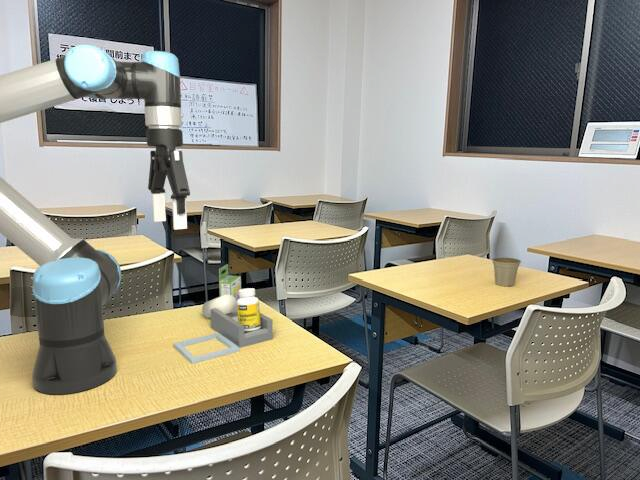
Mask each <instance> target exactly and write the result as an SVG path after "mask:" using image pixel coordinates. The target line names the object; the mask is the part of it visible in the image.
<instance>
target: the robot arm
mask: <svg viewBox="0 0 640 480" xmlns="http://www.w3.org/2000/svg"><path fill="white" fill-rule="evenodd" d="M180 73H181V72H180V63H179V58H178V57H177V56H176V55H175V54H173V53H172V52H167V51H163V50H162V51H160V50H153V51H152V50H151V51H144V52H143V53H141V59H140V61H132V62H131V61H117V60H115V59H114V58H113V57H111V55H109V54H108V53H107V52H106V51H104V50H103V49H102V48H99V47H97V46H93V45H91V44H78V45H76V46H74V47H72V48H71V49H70V50H69V51H68V52H67V53H66V55H63V56H60V57H57V58H54V59H51V60H48V61H44V62H41V63H37V64H33V65H31V66H27V67H23V68H22V69H21V68H20V69H17V70H14V71H11V72H8V73H4V74H1V75H0V124H2V123H5V122H8V121H11V120H14V119H17V118H21V117H25V116H28V115H30V114H33V113H37V112H41V111H43V110H46V109H50V108H53V107H56V106H59V105H62V104H66V103H68V102H69V103H70V102H72V101H76V100H79V99H82V98H86V97H87V98H88V99H98V100H104V101H105V100H143V101H144V119H145V121H144V122H145V126H146V127H148V129H147V128H146V130H145V132H146V133H145V134H146V145H147V146H148V147H152V148H153V147H155V150H150V153H149V154H150V161H149V162H150V163H149V172H148V173H149V175H148V183H147V186H148V187H147V189H148V191H150V193H151V205H152V217H153V222H154V223H155V222H158V223H159V222H166V221H167V218H166V217H167V215H166V200H165V197H166V196H165V194H166V189H165V184H166V180H167V179H168V181H167V182H168V183H169V187H170V190H171V192H172V194H171V195H170V200H171V204H172V205H171V206H172V209H171V210H172V224H173V226H172V227H173V230H175V231H176V230H185V229H186V230H187V229H188V221H187V220H188V219H187V218H188V215H187V200H186V199H187V197H189V196H190V195H191V190H190V187H189V182H188V178H187V174H186V173H187V172H186V169H185V168H186V167H185V165H184V158H183V157H184V156H183V151H182V150H176V147H178V148H179V147H183V145H184V141H183V140H184V139H183V137H184V136H183V130H182V129H180V127H182V126H183V122H182V118H183V117H184V114H183V112H182V99H181V98H182V96H181V95H182V93H181V92H182V91H181V75H180ZM166 178H167V179H166ZM0 234H1V235H2V236H3V237H5V239H7V240H9V242H10V243H12V244H13V245H15V246H16V247H17V248H18V249H19V250H20V251H22V253H24V254H25V255H26V256H27V257H29V258H30V259H31V260H33V261H34V263H36V264H37V265H38V268H37V269H36V270H35V271H34V273H33V277H32V288H31V290H32V294H33V299H34V308H35V310H34V311H35V315H36V316H35V318H36V325H37V326H36V327H37V332H38V333H37V334H38V343H39V347H38V352H37V355H36V360H35V363H34V367H33V371H32V375H31V376H32V383H33V388H34V389H35V390H36V391H37V390H38V391H37V392H39V391H40V392H39V393H42V394H48V395H67V394H68V395H69V394H75V393H80V392H83V391H88V390H90V389H94V388H96V387H98V386H100V385H103V384H106V383H107V382H109V381H110V380H111V379H112V378H113V377H114V376H115V375H116V373H117V371H118V368H117V359H116V356H115V355H114V352H113V350H112V348H111V345H110V344H109V342H108V340H107V337H106V335H105V334H106V333H105V324H104V320H105V319H104V310H103V309H104V308H103V307H104V306H105V305H106V304H107V302H108V301H109V300H111V298H112V297H113V296H114V295H115V294H116V293H117V291H118V289H119V287H120V284H121V280H122V270H121V267H120V263H118V261H117V260H116V258H115V257H114V256H113V255H112V254H110V253H109V252H106V251H104V250H100V249H96V248H95V247H93V246H92V245H91V244H90V243H88V241H86V240H85V239H84V238H81V237H80V238H73V237H71V236H70V235H69V234H67V233H66V232H65V231H64V230H63V229H62V228H61V227H59V226H58V225H57V224H56V223H54V222H53V220H51V219H50V218H49V217H48V216H46V215H45V214H44V213H43V212H42V211H41V210H39V208H37V207H36V206H35V205H34V204H33V203H32V202H30V201H29V200H28V199H27V198H26V197H25V196H23V195H22V194H21V193H20V192H19V191H17V190H16V189H15V188H14V187H13V186H12V185H11V184H9V182H7V181H6V180H5V179H4V178H3V177H1V176H0Z"/></svg>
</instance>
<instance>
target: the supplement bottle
mask: <svg viewBox="0 0 640 480" xmlns="http://www.w3.org/2000/svg"><path fill="white" fill-rule="evenodd" d="M238 292H239V296H240V299H238V300H237V312H238V322H239V323H240V324H242V325H243V326H244V332H247V331H255V330H258V329H260V328H261V319H260V313H261V312H260V311H261V309H260V308H261V307H260V301H259V298H258V297H256V296H255V295H256V289H255V288H253V287H252V288H251V287H250V288H249V287H247V288H241V289H240V290H239V291H238Z"/></svg>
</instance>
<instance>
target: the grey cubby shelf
mask: <svg viewBox="0 0 640 480" xmlns="http://www.w3.org/2000/svg"><path fill="white" fill-rule="evenodd" d="M260 319H261V328H260V329H258V330H255V331H247V332H244V326H243V325H242V324H240V323H239V322H238V312H234V313H229V314H224V313H223V312H221V311H219V310H218V309H216V308H214V309H211V318H210V322H211V323H210V326H211V328H212V329H213V330H214V331H216V333H220V334H221V335H223V336H224V337H225V338H227V339H228V340H230V341H231V342H232V343H234V344H235V345H237V346H238V347H239V348H243V347H247V346H251V345H255V344H259V343H263V342H267V341H271V340H273V339H274V335H273V334H274V333H273V332H274V331H273V330H274V329H273V327H274V326H273V319H272V318H270V317H268V316H267V315H265V314H263V313H261V312H260Z"/></svg>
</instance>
